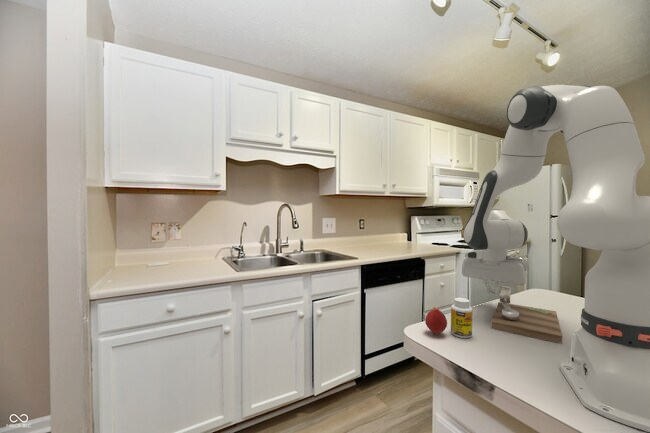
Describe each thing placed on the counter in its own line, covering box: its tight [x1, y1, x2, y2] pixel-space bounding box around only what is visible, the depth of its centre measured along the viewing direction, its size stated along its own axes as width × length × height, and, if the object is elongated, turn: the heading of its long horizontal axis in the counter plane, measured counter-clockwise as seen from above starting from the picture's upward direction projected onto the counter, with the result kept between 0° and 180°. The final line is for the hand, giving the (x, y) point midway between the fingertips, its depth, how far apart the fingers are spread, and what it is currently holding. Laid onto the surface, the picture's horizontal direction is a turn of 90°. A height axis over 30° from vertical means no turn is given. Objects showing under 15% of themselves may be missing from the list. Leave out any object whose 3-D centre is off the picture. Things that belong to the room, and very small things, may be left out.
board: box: [490, 301, 563, 344], centre depth 91 cm, size 23×16×2 cm
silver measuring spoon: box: [499, 285, 519, 320], centre depth 94 cm, size 17×4×6 cm, turn 154°
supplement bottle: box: [450, 297, 473, 339], centre depth 82 cm, size 6×6×10 cm
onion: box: [424, 306, 448, 335], centre depth 82 cm, size 6×6×8 cm
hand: (492, 292), depth 103 cm, fingers closed
